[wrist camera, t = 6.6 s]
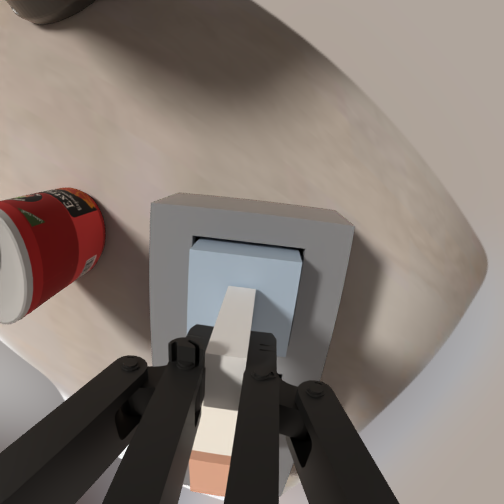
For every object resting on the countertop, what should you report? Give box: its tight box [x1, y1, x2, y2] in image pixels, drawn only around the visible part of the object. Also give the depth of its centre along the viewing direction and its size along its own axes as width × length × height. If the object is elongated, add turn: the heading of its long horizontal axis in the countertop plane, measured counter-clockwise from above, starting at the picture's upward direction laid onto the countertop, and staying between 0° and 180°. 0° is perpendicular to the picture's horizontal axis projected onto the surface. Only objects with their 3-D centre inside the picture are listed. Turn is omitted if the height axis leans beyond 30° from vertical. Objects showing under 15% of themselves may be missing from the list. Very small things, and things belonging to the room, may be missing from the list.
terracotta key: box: [189, 450, 231, 496], centre depth 25 cm, size 6×6×5 cm
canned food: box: [0, 188, 106, 324], centre depth 20 cm, size 8×8×11 cm
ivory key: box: [192, 403, 238, 456], centre depth 21 cm, size 6×6×5 cm
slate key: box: [187, 236, 302, 357], centre depth 20 cm, size 6×6×5 cm
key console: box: [149, 193, 355, 496], centre depth 25 cm, size 28×12×6 cm, turn 174°
